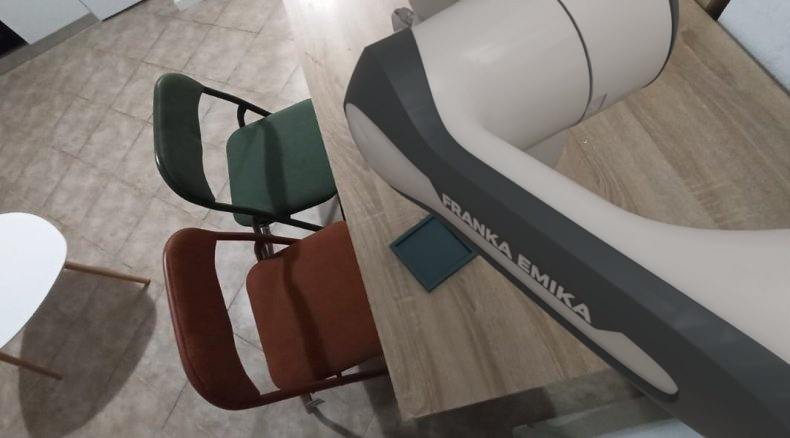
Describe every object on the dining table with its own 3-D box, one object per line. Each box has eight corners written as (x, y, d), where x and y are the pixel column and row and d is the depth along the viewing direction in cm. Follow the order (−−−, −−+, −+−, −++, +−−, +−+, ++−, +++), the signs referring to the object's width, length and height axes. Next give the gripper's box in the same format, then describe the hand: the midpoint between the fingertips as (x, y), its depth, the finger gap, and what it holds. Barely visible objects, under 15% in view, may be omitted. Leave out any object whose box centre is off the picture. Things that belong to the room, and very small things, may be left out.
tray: (478, 255, 81) (478, 252, 79) (428, 293, 81) (428, 291, 79) (436, 212, 86) (436, 209, 85) (389, 247, 86) (388, 245, 85)
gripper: (365, 18, 42) (384, 107, 54) (529, 149, 32) (508, 222, 44) (417, -20, 42) (424, 77, 54) (596, 98, 32) (557, 185, 44)
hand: (463, 143), depth 49 cm, fingers closed on milk carton, 7 cm apart
